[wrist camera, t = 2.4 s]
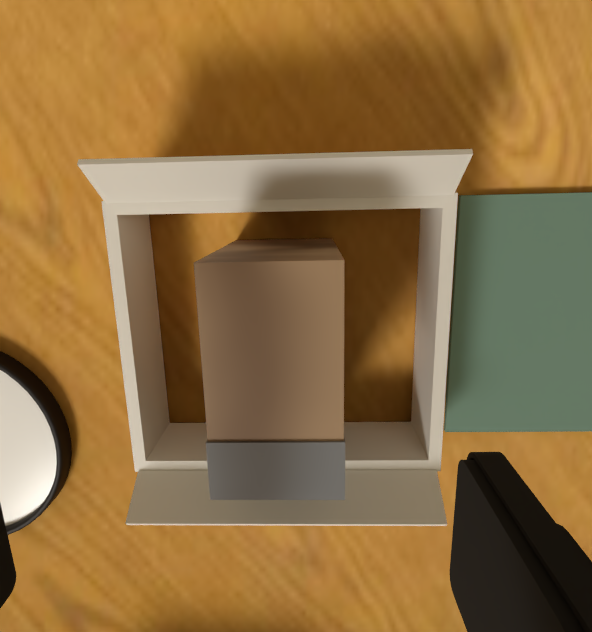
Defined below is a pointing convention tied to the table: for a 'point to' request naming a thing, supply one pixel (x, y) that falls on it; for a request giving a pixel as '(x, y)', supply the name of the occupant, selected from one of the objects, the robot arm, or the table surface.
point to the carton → (360, 437)
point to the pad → (521, 314)
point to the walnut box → (273, 369)
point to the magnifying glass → (29, 445)
